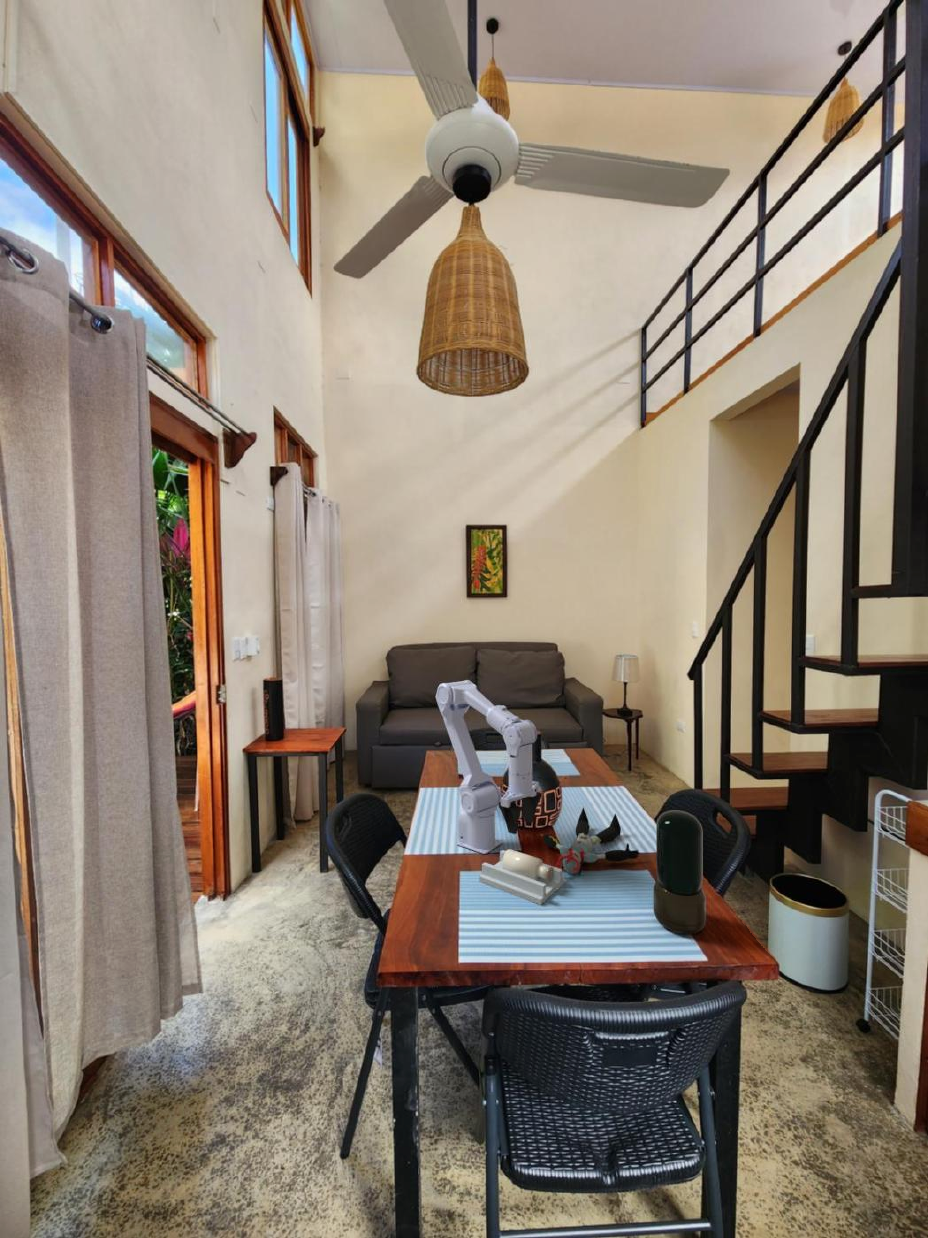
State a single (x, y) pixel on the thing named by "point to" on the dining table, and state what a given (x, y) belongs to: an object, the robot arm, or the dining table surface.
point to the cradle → (520, 882)
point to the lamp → (679, 873)
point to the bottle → (526, 866)
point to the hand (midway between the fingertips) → (520, 827)
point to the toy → (589, 846)
